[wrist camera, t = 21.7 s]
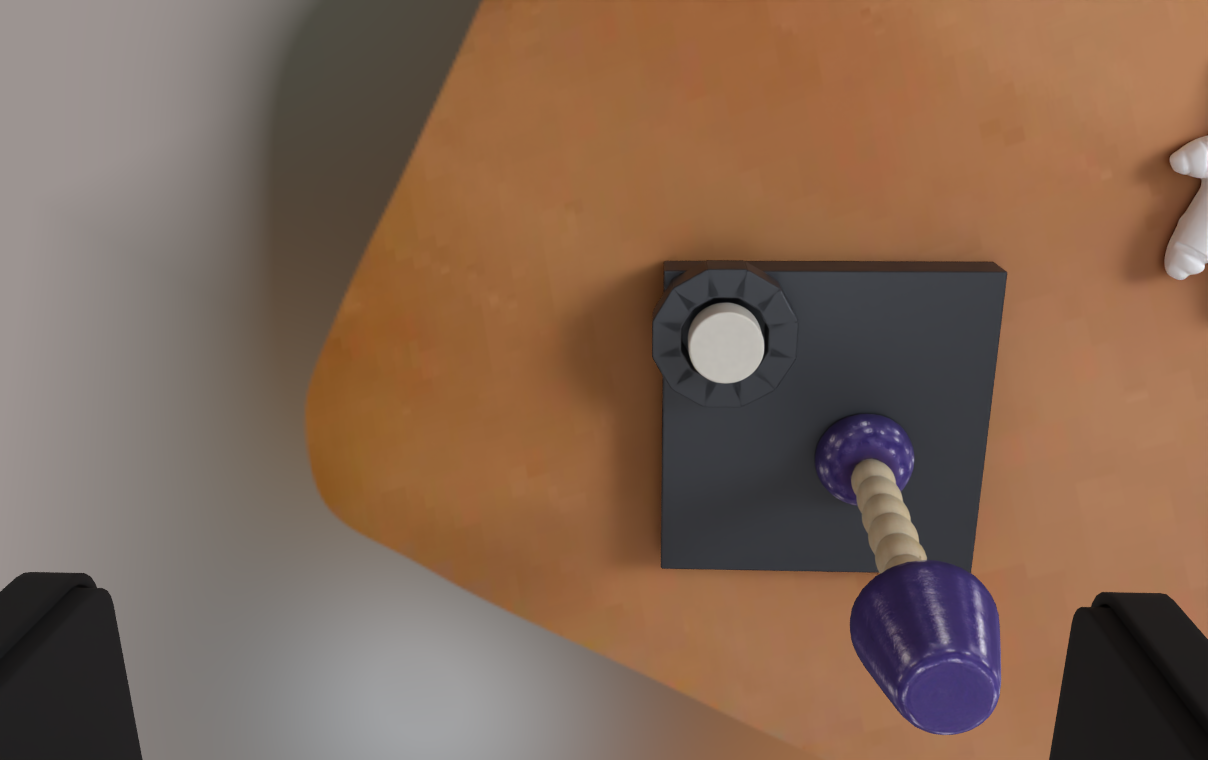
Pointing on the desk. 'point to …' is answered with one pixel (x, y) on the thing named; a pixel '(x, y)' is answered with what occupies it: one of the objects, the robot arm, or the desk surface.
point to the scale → (824, 407)
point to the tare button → (725, 343)
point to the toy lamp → (911, 589)
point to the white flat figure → (1190, 214)
